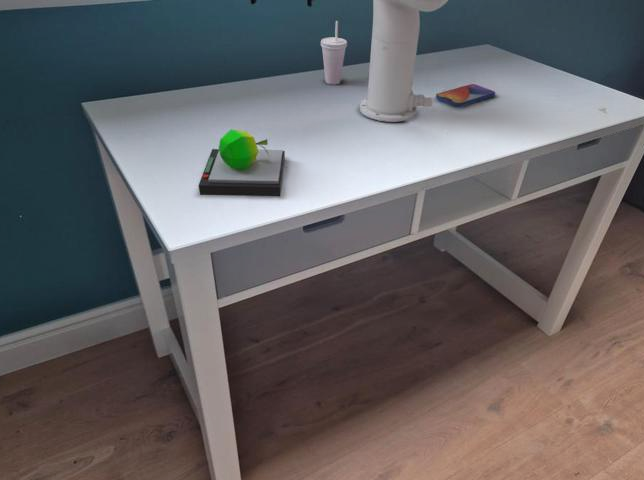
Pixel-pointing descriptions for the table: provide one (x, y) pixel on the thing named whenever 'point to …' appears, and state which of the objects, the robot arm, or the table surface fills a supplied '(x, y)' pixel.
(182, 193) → the table surface
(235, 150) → the apple
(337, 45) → the smoothie
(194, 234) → the table surface
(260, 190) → the scale
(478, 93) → the smartphone
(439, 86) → the table surface
